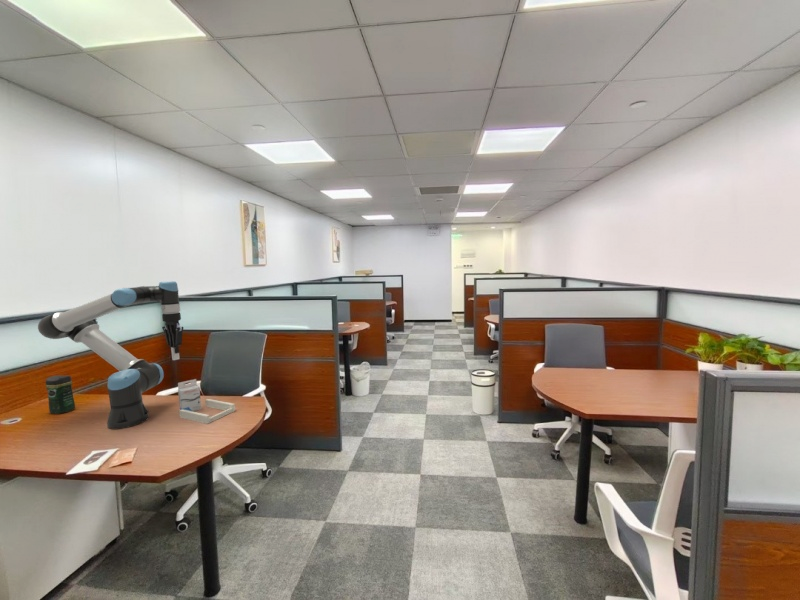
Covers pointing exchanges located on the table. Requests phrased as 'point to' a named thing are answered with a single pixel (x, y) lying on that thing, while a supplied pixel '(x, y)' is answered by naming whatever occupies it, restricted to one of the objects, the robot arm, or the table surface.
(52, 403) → the coffee jar
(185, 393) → the ink box
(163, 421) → the table surface
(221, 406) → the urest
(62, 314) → the robot arm
